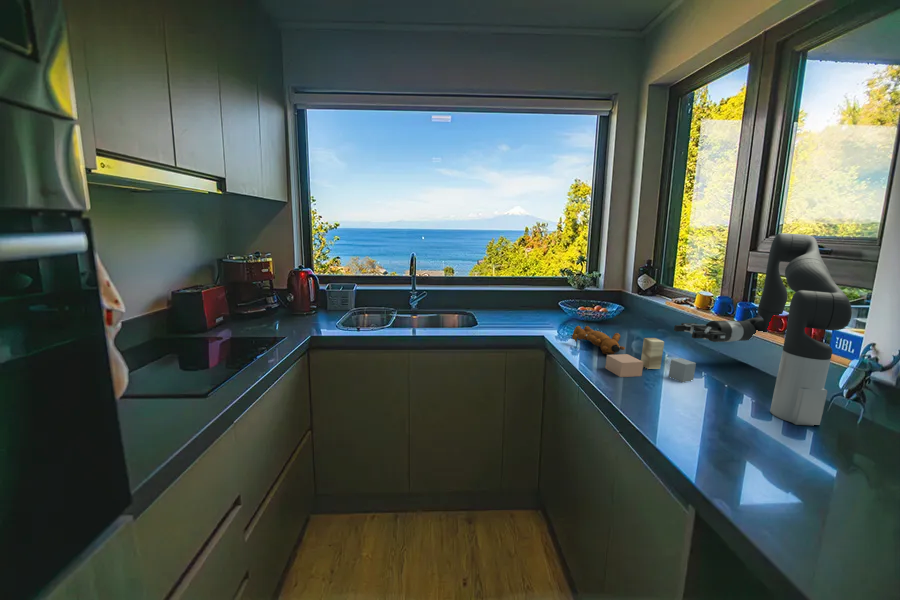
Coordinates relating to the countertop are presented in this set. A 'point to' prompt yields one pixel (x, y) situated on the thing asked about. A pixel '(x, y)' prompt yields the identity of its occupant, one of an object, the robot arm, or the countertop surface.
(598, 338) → the toy
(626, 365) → the terracotta block
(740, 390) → the countertop surface
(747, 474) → the countertop surface
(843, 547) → the countertop surface
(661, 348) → the beech pillar
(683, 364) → the grey block
